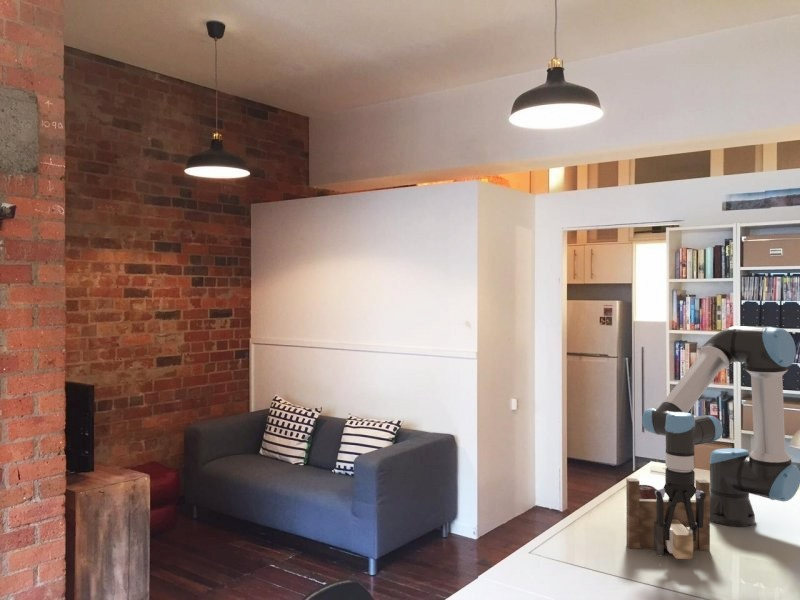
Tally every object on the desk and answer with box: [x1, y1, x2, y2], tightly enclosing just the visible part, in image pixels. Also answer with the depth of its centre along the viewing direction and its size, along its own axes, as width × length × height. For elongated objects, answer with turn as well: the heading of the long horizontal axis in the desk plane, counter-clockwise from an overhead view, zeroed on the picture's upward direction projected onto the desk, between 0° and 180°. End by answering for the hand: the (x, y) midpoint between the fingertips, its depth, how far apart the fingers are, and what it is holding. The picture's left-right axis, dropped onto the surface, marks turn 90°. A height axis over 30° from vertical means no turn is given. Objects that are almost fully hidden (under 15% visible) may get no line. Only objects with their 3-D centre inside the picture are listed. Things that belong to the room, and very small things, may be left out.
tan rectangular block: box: [663, 518, 694, 560], centre depth 189 cm, size 5×13×7 cm, turn 175°
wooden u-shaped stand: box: [625, 477, 711, 556], centre depth 195 cm, size 23×8×20 cm, turn 85°
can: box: [639, 484, 657, 499], centre depth 211 cm, size 6×6×14 cm
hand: (679, 551), depth 186 cm, fingers closed on tan rectangular block, 4 cm apart
